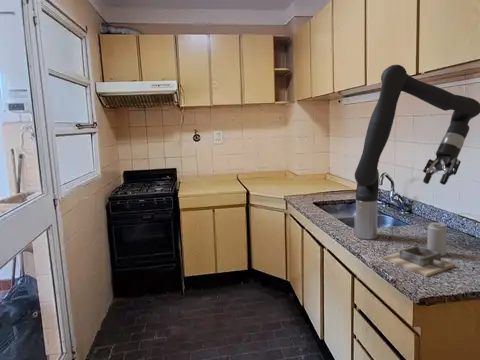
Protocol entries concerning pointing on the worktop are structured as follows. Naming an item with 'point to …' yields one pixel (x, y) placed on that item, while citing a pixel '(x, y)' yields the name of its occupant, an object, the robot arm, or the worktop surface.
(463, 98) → the robot arm
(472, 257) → the worktop surface
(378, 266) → the worktop surface
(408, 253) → the block
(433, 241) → the beverage can
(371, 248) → the worktop surface
